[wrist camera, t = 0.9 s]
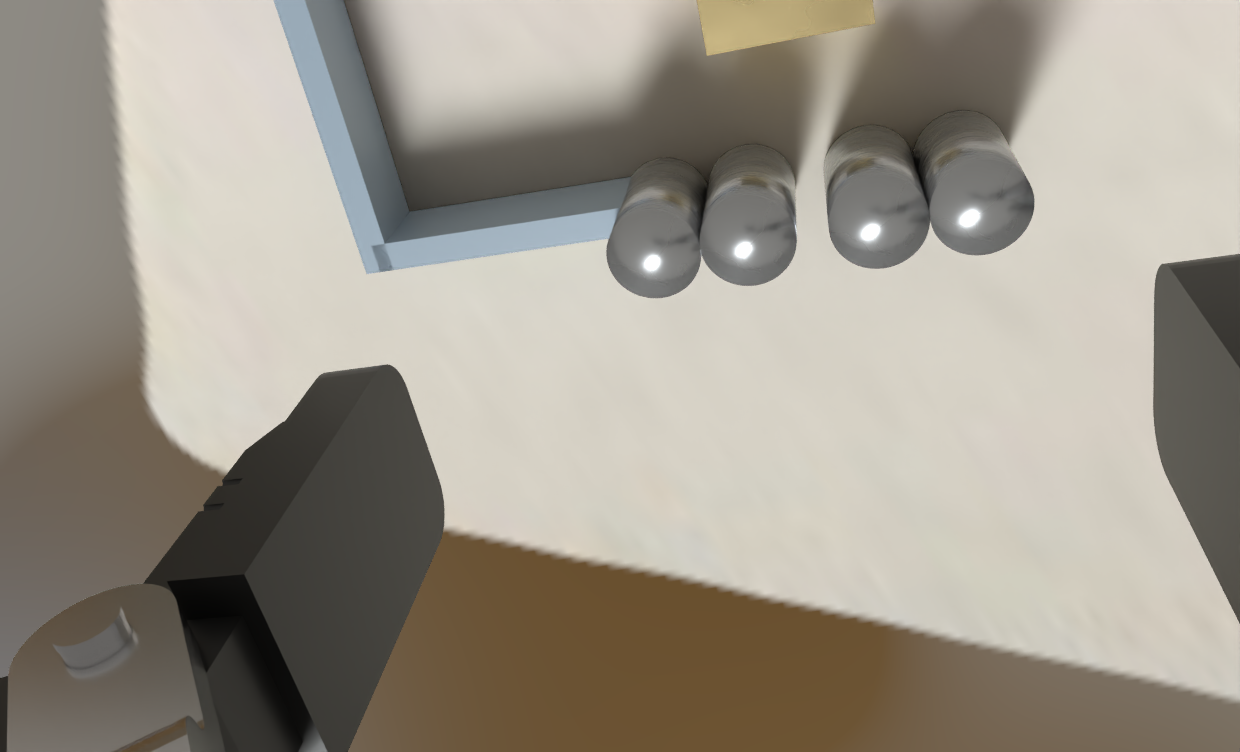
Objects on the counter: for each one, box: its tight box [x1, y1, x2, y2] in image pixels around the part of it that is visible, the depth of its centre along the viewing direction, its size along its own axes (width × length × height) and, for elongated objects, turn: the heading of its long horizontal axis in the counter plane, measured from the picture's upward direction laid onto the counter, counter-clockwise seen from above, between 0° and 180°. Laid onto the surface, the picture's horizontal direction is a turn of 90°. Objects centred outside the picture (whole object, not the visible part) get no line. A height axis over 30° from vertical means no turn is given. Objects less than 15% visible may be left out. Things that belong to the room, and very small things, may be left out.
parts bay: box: [274, 0, 631, 274], centre depth 36 cm, size 10×16×3 cm, turn 12°
